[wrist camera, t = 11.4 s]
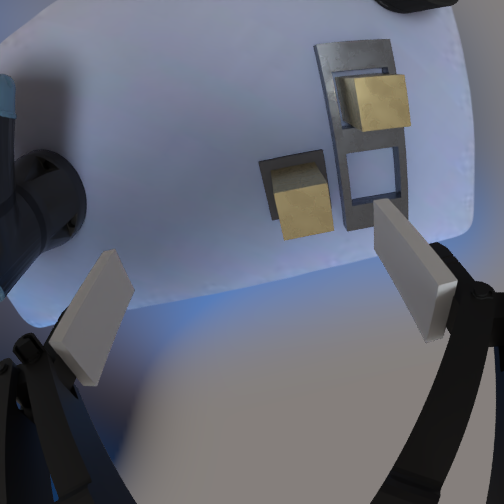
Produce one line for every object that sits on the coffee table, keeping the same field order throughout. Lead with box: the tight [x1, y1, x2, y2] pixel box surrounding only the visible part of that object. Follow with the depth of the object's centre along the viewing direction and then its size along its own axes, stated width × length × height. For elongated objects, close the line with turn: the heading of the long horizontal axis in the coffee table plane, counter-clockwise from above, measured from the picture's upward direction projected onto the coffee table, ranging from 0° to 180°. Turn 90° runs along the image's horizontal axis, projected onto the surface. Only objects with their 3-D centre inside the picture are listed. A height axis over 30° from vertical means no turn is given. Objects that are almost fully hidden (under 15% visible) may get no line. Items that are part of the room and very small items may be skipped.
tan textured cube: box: [271, 162, 334, 240], centre depth 36 cm, size 6×6×8 cm
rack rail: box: [313, 39, 408, 231], centre depth 35 cm, size 9×24×2 cm, turn 13°
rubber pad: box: [259, 149, 332, 220], centre depth 40 cm, size 8×8×1 cm
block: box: [335, 73, 411, 132], centre depth 30 cm, size 6×6×8 cm
